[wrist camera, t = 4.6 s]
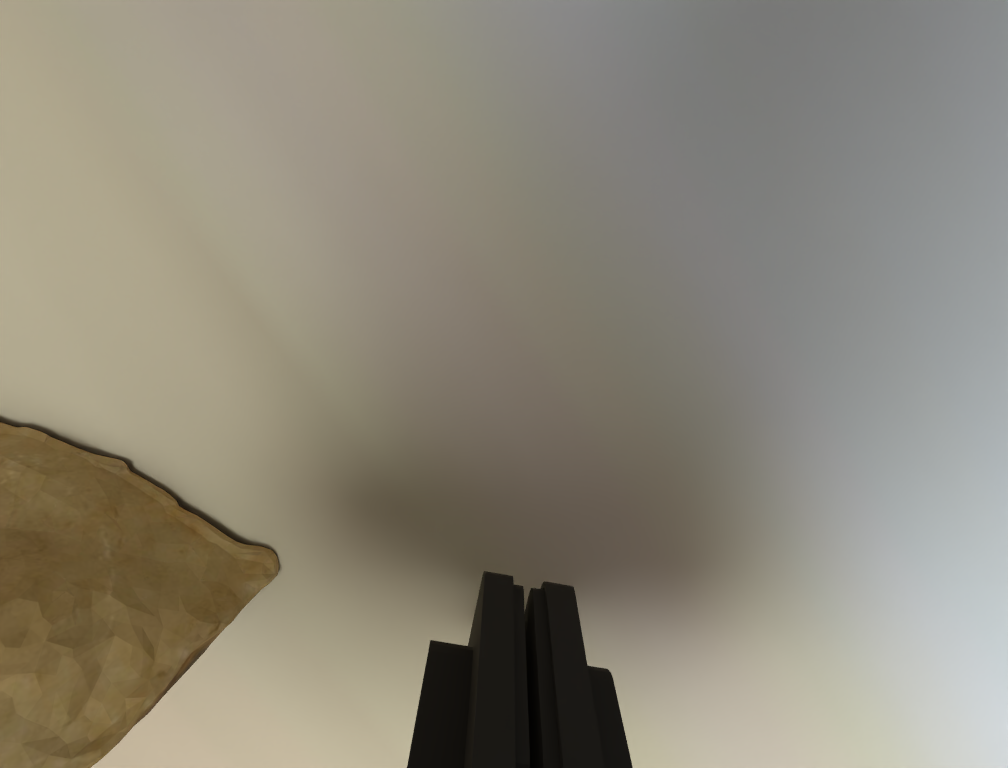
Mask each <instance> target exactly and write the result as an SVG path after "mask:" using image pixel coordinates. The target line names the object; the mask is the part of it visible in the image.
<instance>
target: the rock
mask: <svg viewBox="0 0 1008 768" xmlns="http://www.w3.org/2000/svg"><path fill="white" fill-rule="evenodd" d="M278 570H279V564H278V559H277V556H276V555H275V553H274V552H273V550H270V549H268V548H265V547H262V546H252V545H245V544H242V543H239V542H236V541H234V540H233V539H231V538H229V537H228V536H226V535H225V534H223V533H222V532H221V531H219V530H218V529H216V528H215V527H214V526H212V525H211V524H209V523H208V522H206V521H205V520H203V519H202V518H200V517H199V516H197V515H195V514H193V513H191V512H188V511H186V510H185V509H183V508H181V507H180V506H179V505H178V503H177V501H176V500H175V499H174V498H173V497H172V496H170V495H169V494H168V493H167V492H165V491H164V490H163V489H161V488H159V487H157V486H156V485H154V484H152V483H151V482H149V481H148V480H146V479H144V478H142V477H140V476H138V475H136V474H135V473H133V472H131V471H130V469H129V468H128V466H127V465H126V464H125V463H124V462H123V461H121V460H119V459H114V458H110V457H105V456H101V455H96V454H93V453H90V452H87V451H84V450H82V449H79V448H77V447H74V446H72V445H69V444H67V443H64V442H62V441H60V440H57V439H54V438H51V437H50V436H48V435H47V434H45V433H43V432H41V431H37V430H34V429H31V428H28V427H18V428H17V427H14V426H10V425H7V424H4V423H1V422H0V768H90V767H92V766H93V765H94V764H95V763H97V762H98V761H99V760H101V759H102V758H103V757H104V756H105V755H106V754H107V753H108V752H109V751H110V750H111V749H113V748H114V747H115V746H116V745H117V744H118V743H119V742H120V741H121V740H122V739H123V737H124V736H125V735H126V734H127V733H128V732H129V731H130V730H131V729H132V727H133V726H134V725H135V724H137V723H138V722H139V721H140V720H141V719H142V718H143V717H145V716H146V715H147V714H148V713H149V712H150V711H151V710H152V708H153V707H154V706H155V705H156V704H157V703H158V702H159V700H160V699H161V698H162V697H163V696H164V695H165V694H166V693H167V691H168V690H169V689H170V688H171V687H172V686H173V685H174V684H175V683H176V682H177V681H178V680H179V679H180V678H181V677H182V676H183V674H184V673H185V672H186V671H187V670H188V669H189V668H190V667H191V666H192V665H193V664H194V663H195V661H196V660H197V659H198V658H199V657H200V656H201V655H202V654H203V653H204V652H205V651H206V649H207V648H208V647H209V645H210V644H211V643H212V642H213V641H214V640H215V639H216V637H217V636H218V635H219V634H220V633H221V632H222V631H223V630H224V628H225V627H227V626H228V625H229V624H230V623H231V622H232V621H233V620H234V618H235V617H236V616H237V615H238V613H239V612H240V611H241V610H242V609H243V608H244V607H245V606H246V605H247V604H248V603H249V601H250V600H251V599H252V598H253V597H254V596H255V595H256V594H257V593H258V592H259V591H260V590H261V589H262V588H264V587H265V586H266V585H268V584H269V583H270V582H271V581H272V580H273V579H274V578H275V577H276V576H277V574H278Z"/></svg>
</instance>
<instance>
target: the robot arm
mask: <svg viewBox="0 0 1008 768" xmlns="http://www.w3.org/2000/svg"><path fill="white" fill-rule="evenodd" d="M407 768H632V763H631V759H630V754H629V749H628V745H627V740H626V736H625V731H624V727H623V722H622V718H621V713H620V709H619V704H618V700H617V695H616V690H615V686H614V681H613V678H612V675H611V672H610V671H609V670H608V669H604V668H598V667H591V666H587V661H586V655H585V649H584V643H583V637H582V632H581V626H580V620H579V614H578V608H577V602H576V596H575V591H574V587H572V586H567V585H562V584H556V583H550V582H543V584H542V586H541V589H536V588H531V590H530V593H529V597H528V601H527V605H526V609H525V614H524V589H523V586H519V585H513V576H509V575H503V574H497V573H491V572H485V571H484V573H483V577H482V581H481V586H480V591H479V595H478V600H477V605H476V610H475V615H474V619H473V624H472V629H471V634H470V638H469V643H468V646H463V645H457V644H451V643H445V642H438V641H432V640H431V641H430V646H429V652H428V657H427V662H426V668H425V673H424V678H423V684H422V689H421V695H420V700H419V706H418V711H417V716H416V722H415V727H414V733H413V738H412V744H411V749H410V755H409V760H408V766H407Z"/></svg>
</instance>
